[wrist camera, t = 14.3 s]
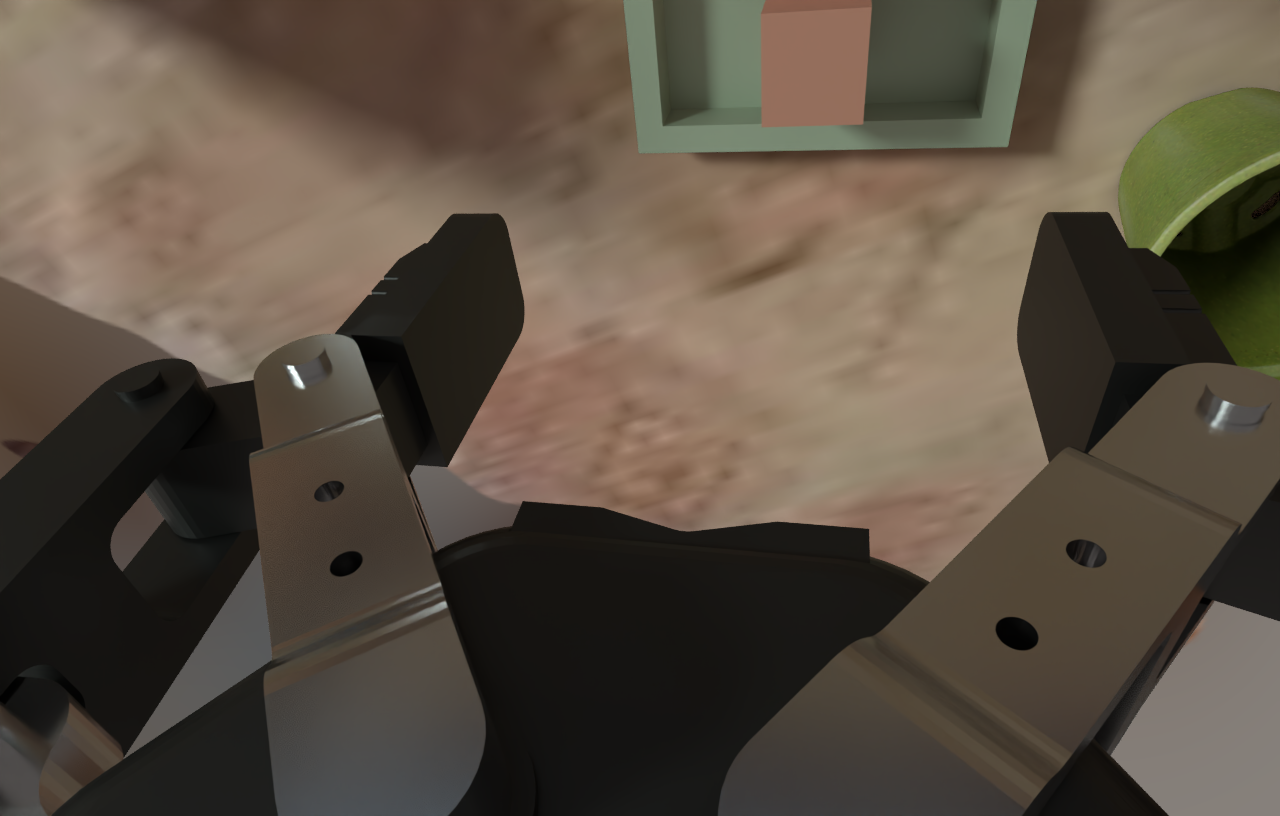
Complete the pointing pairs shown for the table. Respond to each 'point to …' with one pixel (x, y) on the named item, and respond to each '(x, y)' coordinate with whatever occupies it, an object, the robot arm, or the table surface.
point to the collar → (814, 62)
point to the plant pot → (1216, 213)
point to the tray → (895, 86)
